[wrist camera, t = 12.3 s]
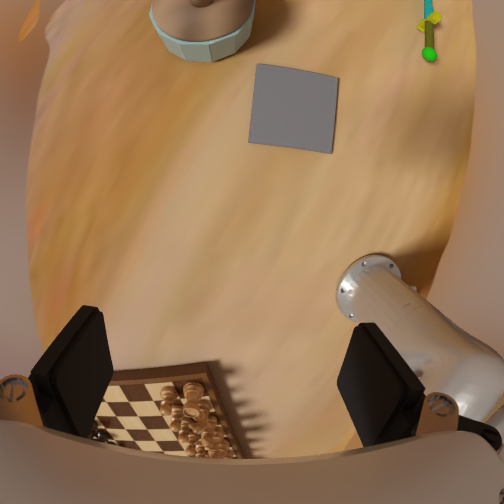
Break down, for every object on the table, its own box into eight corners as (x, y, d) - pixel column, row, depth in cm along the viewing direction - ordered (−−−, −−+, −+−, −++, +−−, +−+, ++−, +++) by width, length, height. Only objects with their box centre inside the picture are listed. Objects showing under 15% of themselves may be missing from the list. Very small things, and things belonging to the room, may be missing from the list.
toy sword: (434, 49, 28) (425, -42, 24) (413, 61, 34) (411, -30, 30) (447, 58, 29) (435, -35, 24) (425, 69, 35) (421, -23, 30)
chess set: (206, 359, 50) (202, 420, 36) (248, 462, 63) (252, 506, 49) (45, 371, 50) (18, 413, 36) (118, 465, 63) (110, 502, 49)
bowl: (254, -2, 31) (259, -28, 24) (245, 66, 35) (249, 47, 28) (171, -4, 30) (161, -29, 22) (156, 64, 34) (141, 46, 26)
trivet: (336, 79, 36) (337, 78, 36) (329, 153, 40) (331, 153, 40) (256, 64, 35) (257, 63, 35) (248, 142, 39) (248, 142, 38)
